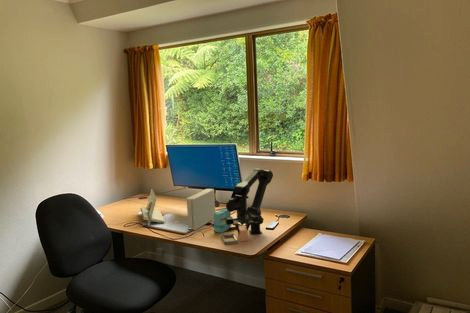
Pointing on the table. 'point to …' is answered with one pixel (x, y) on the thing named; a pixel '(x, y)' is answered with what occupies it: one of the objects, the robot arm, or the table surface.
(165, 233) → the table surface
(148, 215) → the architectural model
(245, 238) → the tall beige box
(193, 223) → the game console
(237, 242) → the grey rectangular frame
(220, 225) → the data package
